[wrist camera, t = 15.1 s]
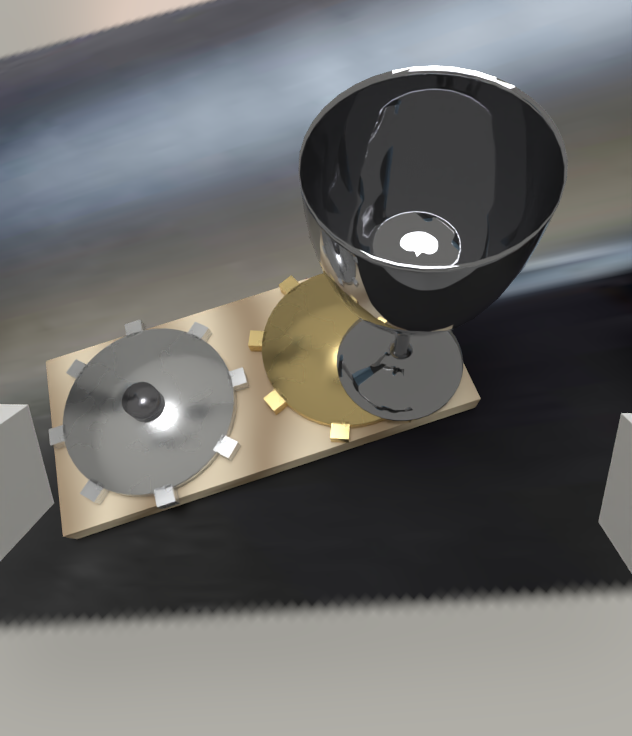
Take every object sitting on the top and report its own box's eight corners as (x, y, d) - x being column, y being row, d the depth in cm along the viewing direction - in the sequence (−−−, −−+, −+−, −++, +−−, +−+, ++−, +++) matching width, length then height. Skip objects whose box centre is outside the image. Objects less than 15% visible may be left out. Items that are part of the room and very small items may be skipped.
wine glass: (501, 361, 29) (626, 149, 15) (401, 458, 27) (439, 321, 13) (397, 276, 31) (421, 32, 18) (300, 360, 30) (245, 162, 16)
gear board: (77, 544, 29) (42, 538, 26) (58, 366, 34) (26, 342, 30) (477, 412, 30) (490, 390, 27) (404, 257, 35) (408, 223, 31)
